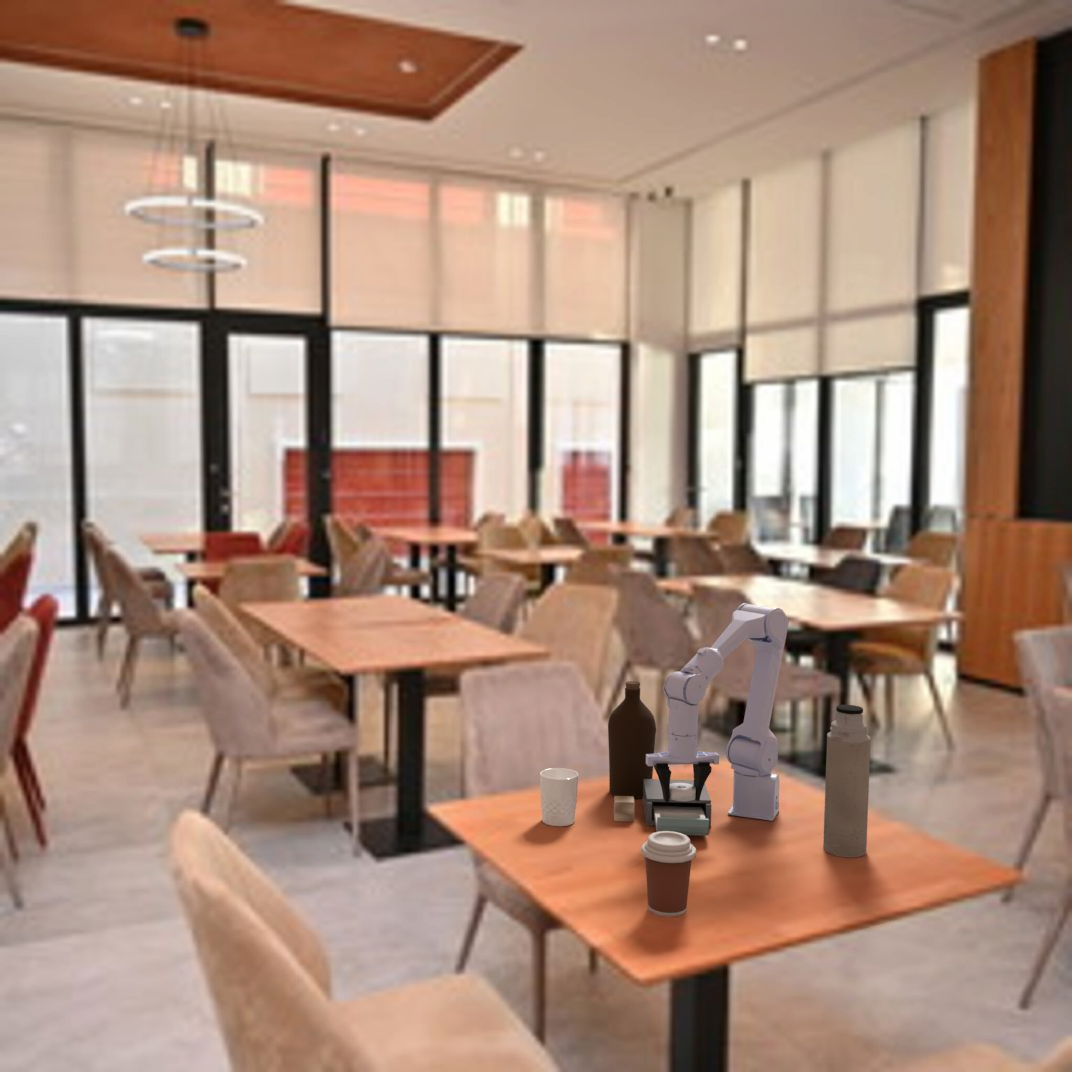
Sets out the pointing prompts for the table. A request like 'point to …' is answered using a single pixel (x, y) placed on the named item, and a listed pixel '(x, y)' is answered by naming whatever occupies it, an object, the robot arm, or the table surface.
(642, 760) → the olive oil
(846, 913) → the table surface
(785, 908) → the table surface
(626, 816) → the birch block
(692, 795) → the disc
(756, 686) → the robot arm
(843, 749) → the thermos bottle
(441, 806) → the table surface
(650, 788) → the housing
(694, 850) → the coffee cup
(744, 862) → the table surface
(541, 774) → the white cup
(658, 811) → the tray
